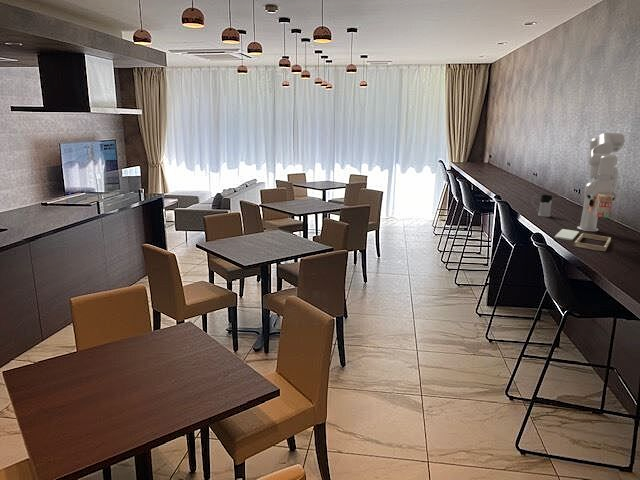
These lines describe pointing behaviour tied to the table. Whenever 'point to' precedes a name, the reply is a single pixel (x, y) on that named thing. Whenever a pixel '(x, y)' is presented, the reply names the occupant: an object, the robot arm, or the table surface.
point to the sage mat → (567, 234)
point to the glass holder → (544, 205)
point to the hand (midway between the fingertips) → (598, 207)
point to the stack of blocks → (601, 205)
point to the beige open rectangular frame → (589, 246)
